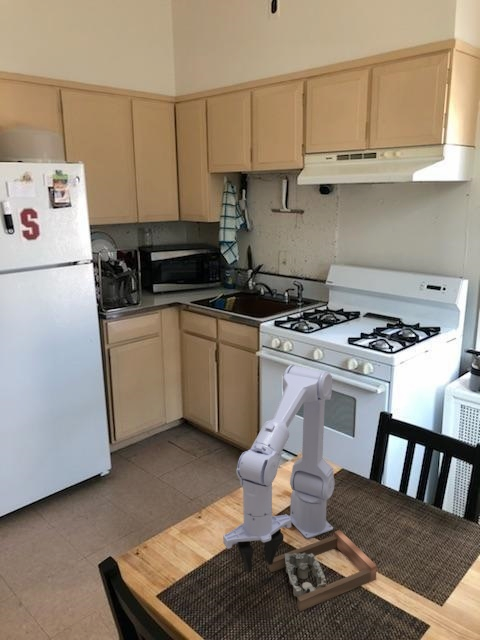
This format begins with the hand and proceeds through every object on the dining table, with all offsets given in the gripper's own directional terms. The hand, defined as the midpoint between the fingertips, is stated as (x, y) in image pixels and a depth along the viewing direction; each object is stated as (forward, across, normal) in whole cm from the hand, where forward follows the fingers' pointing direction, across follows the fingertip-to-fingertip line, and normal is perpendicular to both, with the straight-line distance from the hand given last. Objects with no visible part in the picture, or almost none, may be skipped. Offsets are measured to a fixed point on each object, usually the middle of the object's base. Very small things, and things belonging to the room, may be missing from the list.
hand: (258, 565), depth 107 cm
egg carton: (+9, +11, 0) cm, 14 cm away
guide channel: (+8, +15, 0) cm, 17 cm away
